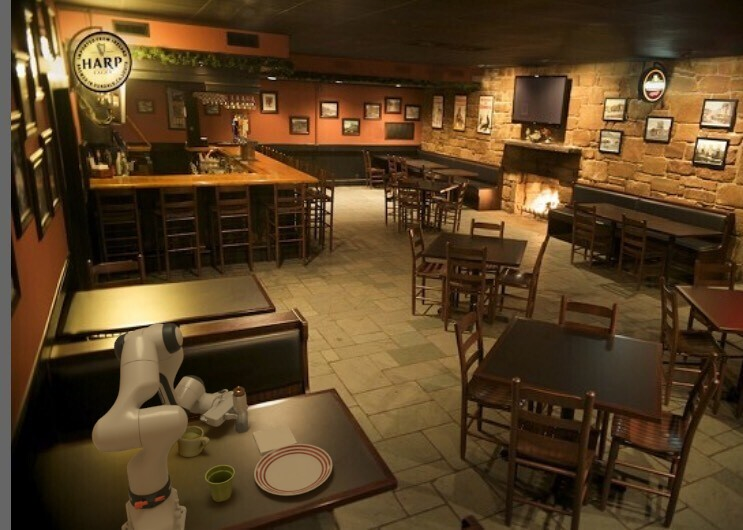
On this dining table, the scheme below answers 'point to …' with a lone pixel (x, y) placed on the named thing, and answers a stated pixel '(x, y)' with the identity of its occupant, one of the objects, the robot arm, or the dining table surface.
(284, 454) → the dinner plate
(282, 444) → the serving tile
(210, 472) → the plant pot
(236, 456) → the dining table surface
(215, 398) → the robot arm
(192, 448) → the mug
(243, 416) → the pepper mill
